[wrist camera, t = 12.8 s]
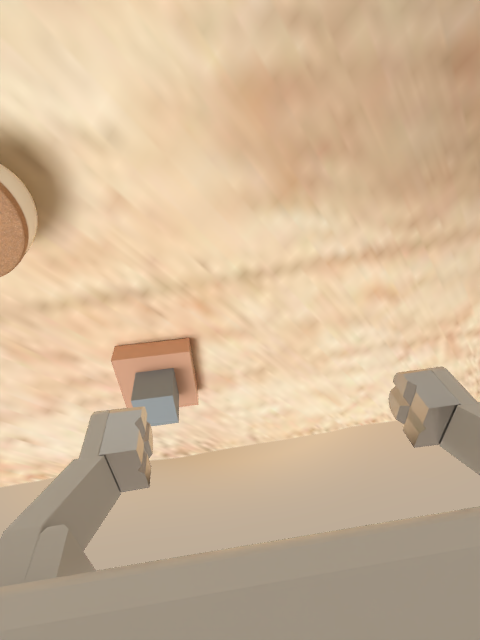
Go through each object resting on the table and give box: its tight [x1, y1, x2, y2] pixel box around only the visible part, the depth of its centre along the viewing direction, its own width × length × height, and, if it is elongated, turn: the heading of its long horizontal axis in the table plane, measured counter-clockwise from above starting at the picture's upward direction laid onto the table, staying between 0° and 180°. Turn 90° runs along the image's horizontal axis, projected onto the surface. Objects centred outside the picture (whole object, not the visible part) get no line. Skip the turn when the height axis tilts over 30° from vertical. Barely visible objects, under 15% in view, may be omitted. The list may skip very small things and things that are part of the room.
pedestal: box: [111, 338, 198, 408], centre depth 49 cm, size 10×10×3 cm
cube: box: [131, 368, 179, 426], centre depth 46 cm, size 5×5×5 cm
